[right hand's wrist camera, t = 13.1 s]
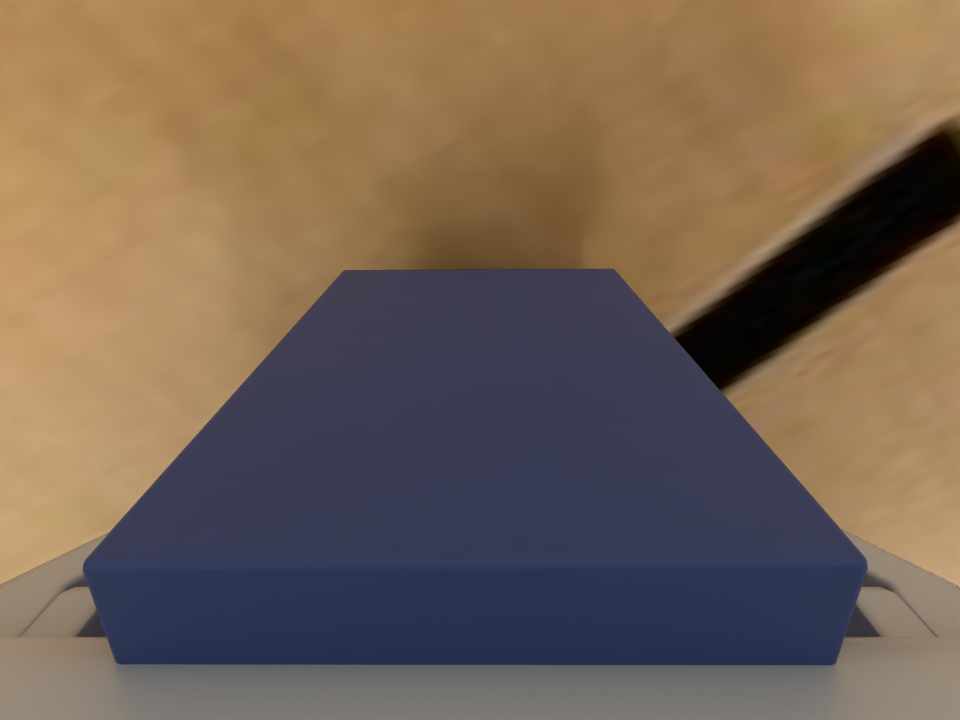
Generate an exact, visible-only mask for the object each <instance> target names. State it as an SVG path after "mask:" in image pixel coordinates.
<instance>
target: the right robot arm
mask: <svg viewBox="0 0 960 720" xmlns="http://www.w3.org/2000/svg"><path fill="white" fill-rule="evenodd" d="M841 530H842V529H841ZM842 531H843V532H844V533H845V535H846V536H847V537H848V538H849V539H850V540H851V541H852V543H853V544H854V545H855V546H856V547H857V548H858V550H859V551H860V552H861V553H862V554H863V555H864V556H865V558H866V560H867V564H868V569H867V572H866V575H865V578H864V581H863V584H862V587H861V590H860V593H859V596H858V599H857V602H856V605H855V608H854V611H853V614H852V617H851V620H850V623H849V626H848V629H847V632H846V635H845V638H844V641H843V644H842V647H841V650H840V653H839V656H838V659H837V662H836V664H833V665H199V664H118V663H116V662H115V659H114V657H113V654H112V651H111V648H110V645H109V643H108V640H107V637H106V634H105V632H104V629H103V626H102V623H101V620H100V618H99V615H98V612H97V609H96V607H95V604H94V601H93V598H92V595H91V593H90V590H89V587H88V584H87V581H86V579H85V576H84V573H83V564H84V561H85V559H86V558H87V557H88V556H89V555H90V554H91V553H92V552H93V550H94V549H95V548H96V547H97V546H98V545H99V544H100V543H101V542H102V540H103V539H104V538H105V537H106V536H107V535H108V534H109V533H110V532H109V533H107V534H105V535H103V536H100V537H98V538H96V539H94V540H92V541H90V542H88V543H86V544H84V545H82V546H80V547H78V548H76V549H73V550H71V551H69V552H67V553H65V554H63V555H61V556H59V557H57V558H55V559H53V560H51V561H48V562H46V563H44V564H42V565H40V566H38V567H36V568H34V569H32V570H30V571H28V572H26V573H24V574H21V575H19V576H17V577H15V578H13V579H11V580H9V581H7V582H5V583H3V584H1V585H0V720H960V588H959V587H958V586H957V585H955V584H953V583H951V582H949V581H947V580H945V579H943V578H941V577H939V576H937V575H935V574H933V573H931V572H929V571H926V570H924V569H922V568H920V567H918V566H916V565H914V564H912V563H910V562H908V561H906V560H904V559H902V558H900V557H898V556H896V555H893V554H891V553H889V552H887V551H885V550H883V549H881V548H879V547H877V546H875V545H873V544H871V543H869V542H867V541H865V540H862V539H860V538H858V537H856V536H854V535H852V534H850V533H848V532H846V531H844V530H842Z"/></svg>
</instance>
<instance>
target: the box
mask: <svg viewBox="0 0 960 720" xmlns="http://www.w3.org/2000/svg"><path fill="white" fill-rule="evenodd" d="M867 569H868V564H867V560H866V558H865V556H864V555H863V554H862V553H861V552H860V551H859V550H858V548H857V547H856V546H855V545H854V544H853V543H852V541H851V540H850V539H849V538H848V537H847V536H846V535H845V533H844V532H843V531H842V530H841V529H840V528H839V527H838V525H837V524H836V523H835V522H834V521H833V520H832V519H831V517H830V516H829V515H828V514H827V513H826V512H825V511H824V509H823V508H822V507H821V506H820V505H819V504H818V502H817V501H816V500H815V499H814V498H813V497H812V496H811V494H810V493H809V492H808V491H807V490H806V489H805V488H804V486H803V485H802V484H801V483H800V482H799V481H798V480H797V478H796V477H795V476H794V475H793V474H792V473H791V472H790V470H789V469H788V468H787V467H786V466H785V465H784V463H783V462H782V461H781V460H780V459H779V458H778V457H777V455H776V454H775V453H774V452H773V451H772V450H771V449H770V447H769V446H768V445H767V444H766V443H765V442H764V441H763V439H762V438H761V437H760V436H759V435H758V434H757V433H756V431H755V430H754V429H753V428H752V427H751V426H750V424H749V423H748V422H747V421H746V420H745V419H744V418H743V416H742V415H741V414H740V413H739V412H738V411H737V410H736V408H735V407H734V406H733V405H732V404H731V403H730V402H729V400H728V399H727V398H726V397H725V396H724V395H723V394H722V392H721V391H720V390H719V389H718V388H717V387H716V386H715V384H714V383H713V382H712V381H711V380H710V379H709V377H708V376H707V375H706V374H705V373H704V372H703V371H702V369H701V368H700V367H699V366H698V365H697V364H696V363H695V361H694V360H693V359H692V358H691V357H690V356H689V355H688V353H687V352H686V351H685V350H684V349H683V348H682V347H681V345H680V344H679V343H678V342H677V341H676V340H675V338H674V337H673V336H672V335H671V334H670V333H669V332H668V330H667V329H666V328H665V327H664V326H663V325H662V324H661V322H660V321H659V320H658V319H657V318H656V317H655V316H654V314H653V313H652V312H651V311H650V310H649V309H648V308H647V306H646V305H645V304H644V303H643V302H642V301H641V299H640V298H639V297H638V296H637V295H636V294H635V293H634V291H633V290H632V289H631V288H630V287H629V286H628V285H627V283H626V282H625V281H624V280H623V279H622V278H621V277H620V275H619V274H618V273H617V272H616V271H615V270H614V269H499V270H345V271H343V272H342V273H341V274H340V275H339V276H338V278H337V279H336V280H335V281H334V282H333V283H332V284H331V285H330V287H329V288H328V289H327V290H326V291H325V292H324V293H323V294H322V295H321V297H320V298H319V299H318V300H317V301H316V302H315V303H314V304H313V306H312V307H311V308H310V309H309V310H308V311H307V312H306V313H305V314H304V316H303V317H302V318H301V319H300V320H299V321H298V322H297V323H296V325H295V326H294V327H293V328H292V329H291V330H290V331H289V332H288V333H287V335H286V336H285V337H284V338H283V339H282V340H281V341H280V342H279V344H278V345H277V346H276V347H275V348H274V349H273V350H272V351H271V353H270V354H269V355H268V356H267V357H266V358H265V359H264V360H263V361H262V363H261V364H260V365H259V366H258V367H257V368H256V369H255V370H254V372H253V373H252V374H251V375H250V376H249V377H248V378H247V379H246V380H245V382H244V383H243V384H242V385H241V386H240V387H239V388H238V389H237V391H236V392H235V393H234V394H233V395H232V396H231V397H230V398H229V399H228V401H227V402H226V403H225V404H224V405H223V406H222V407H221V408H220V410H219V411H218V412H217V413H216V414H215V415H214V416H213V417H212V419H211V420H210V421H209V422H208V423H207V424H206V425H205V426H204V427H203V429H202V430H201V431H200V432H199V433H198V434H197V435H196V436H195V438H194V439H193V440H192V441H191V442H190V443H189V444H188V445H187V446H186V448H185V449H184V450H183V451H182V452H181V453H180V454H179V455H178V457H177V458H176V459H175V460H174V461H173V462H172V463H171V464H170V465H169V467H168V468H167V469H166V470H165V471H164V472H163V473H162V474H161V476H160V477H159V478H158V479H157V480H156V481H155V482H154V483H153V484H152V486H151V487H150V488H149V489H148V490H147V491H146V492H145V493H144V495H143V496H142V497H141V498H140V499H139V500H138V501H137V502H136V504H135V505H134V506H133V507H132V508H131V509H130V510H129V511H128V512H127V514H126V515H125V516H124V517H123V518H122V519H121V520H120V521H119V523H118V524H117V525H116V526H115V527H114V528H113V529H112V530H111V531H110V533H109V534H108V535H107V536H106V537H105V538H104V539H103V540H102V542H101V543H100V544H99V545H98V546H97V547H96V548H95V549H94V550H93V552H92V553H91V554H90V555H89V556H88V557H87V558H86V559H85V561H84V564H83V573H84V576H85V579H86V581H87V584H88V587H89V590H90V593H91V595H92V598H93V601H94V604H95V607H96V609H97V612H98V615H99V618H100V620H101V623H102V626H103V629H104V632H105V634H106V637H107V640H108V643H109V645H110V648H111V651H112V654H113V657H114V659H115V662H116V663H118V664H199V665H833V664H836V662H837V659H838V656H839V653H840V650H841V647H842V644H843V641H844V638H845V635H846V632H847V629H848V626H849V623H850V620H851V617H852V614H853V611H854V608H855V605H856V602H857V599H858V596H859V593H860V590H861V587H862V584H863V581H864V578H865V575H866V572H867Z"/></svg>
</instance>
